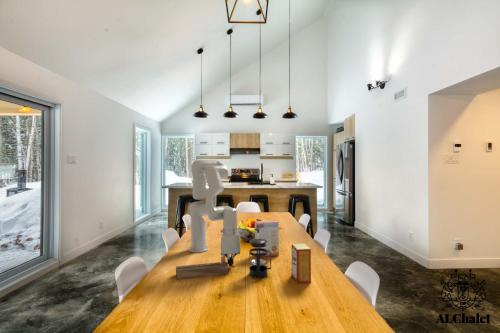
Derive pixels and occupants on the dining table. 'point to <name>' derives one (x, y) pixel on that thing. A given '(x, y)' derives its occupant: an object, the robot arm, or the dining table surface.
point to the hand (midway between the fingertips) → (230, 265)
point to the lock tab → (222, 260)
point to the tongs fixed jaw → (202, 271)
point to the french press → (258, 258)
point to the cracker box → (269, 236)
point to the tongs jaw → (196, 266)
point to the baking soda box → (301, 263)
